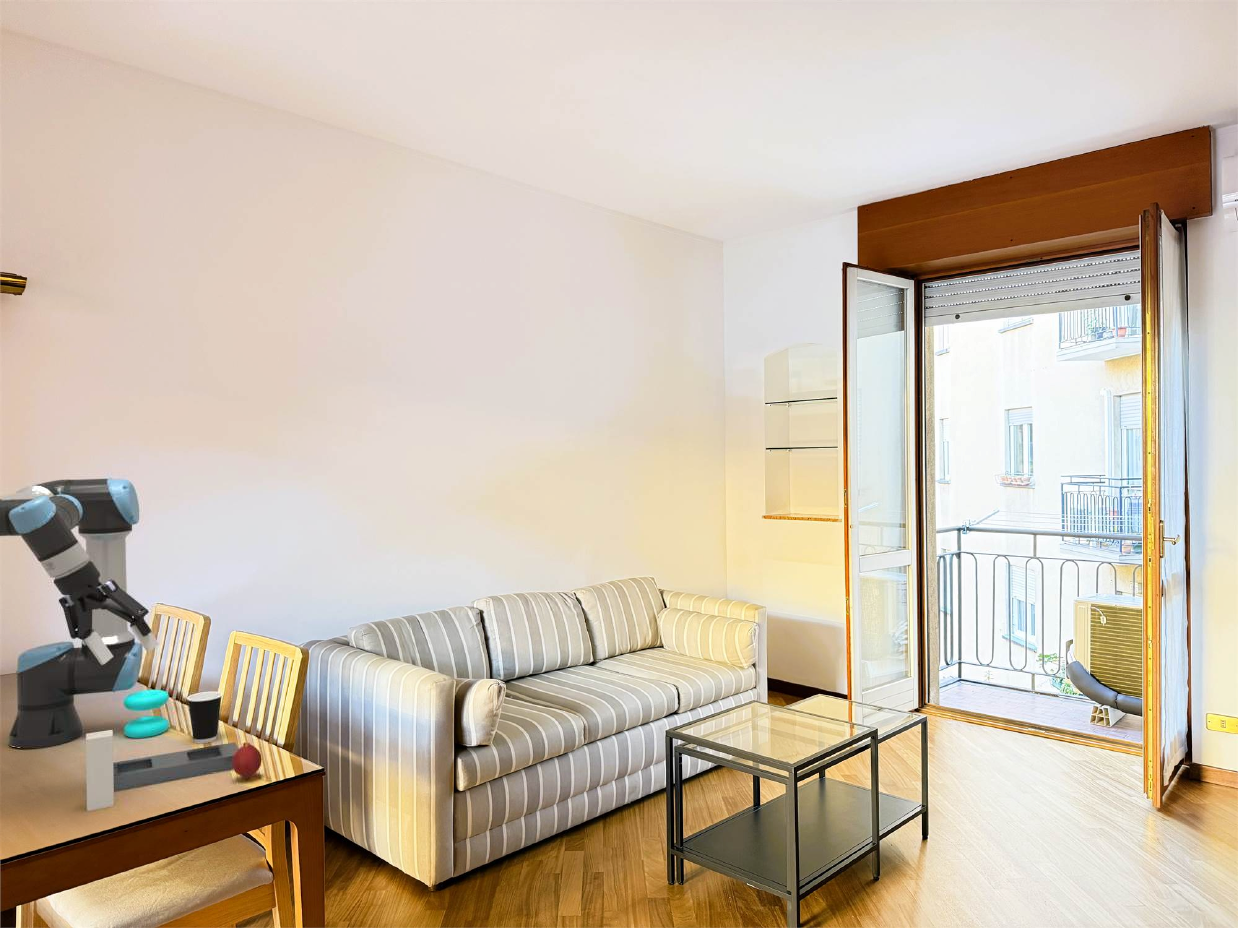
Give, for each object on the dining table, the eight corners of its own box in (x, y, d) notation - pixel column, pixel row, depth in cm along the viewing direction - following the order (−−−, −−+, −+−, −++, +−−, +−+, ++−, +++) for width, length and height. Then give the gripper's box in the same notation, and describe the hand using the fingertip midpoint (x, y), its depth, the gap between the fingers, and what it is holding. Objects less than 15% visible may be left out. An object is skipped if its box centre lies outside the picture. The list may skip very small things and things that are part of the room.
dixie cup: (179, 743, 206) (179, 698, 206) (207, 733, 213) (206, 690, 213) (203, 747, 202) (202, 701, 202) (230, 737, 210) (229, 692, 210)
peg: (86, 811, 165) (86, 739, 165) (87, 803, 169) (86, 733, 169) (113, 805, 167) (112, 735, 167) (113, 798, 171) (112, 729, 171)
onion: (238, 774, 184) (237, 737, 184) (265, 772, 185) (265, 736, 185) (228, 783, 178) (227, 746, 178) (256, 782, 179) (256, 744, 179)
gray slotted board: (93, 794, 173) (93, 780, 173) (93, 779, 182) (93, 765, 182) (241, 767, 188) (241, 754, 188) (235, 754, 196) (235, 741, 196)
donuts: (173, 687, 220) (161, 697, 210) (174, 725, 220) (161, 737, 210) (131, 689, 218) (117, 700, 208) (132, 728, 218) (117, 740, 208)
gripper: (14, 593, 170) (75, 676, 177) (100, 564, 162) (160, 653, 168) (45, 573, 177) (102, 654, 183) (128, 545, 168) (185, 632, 175)
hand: (130, 654), depth 176 cm, fingers open, 13 cm apart
